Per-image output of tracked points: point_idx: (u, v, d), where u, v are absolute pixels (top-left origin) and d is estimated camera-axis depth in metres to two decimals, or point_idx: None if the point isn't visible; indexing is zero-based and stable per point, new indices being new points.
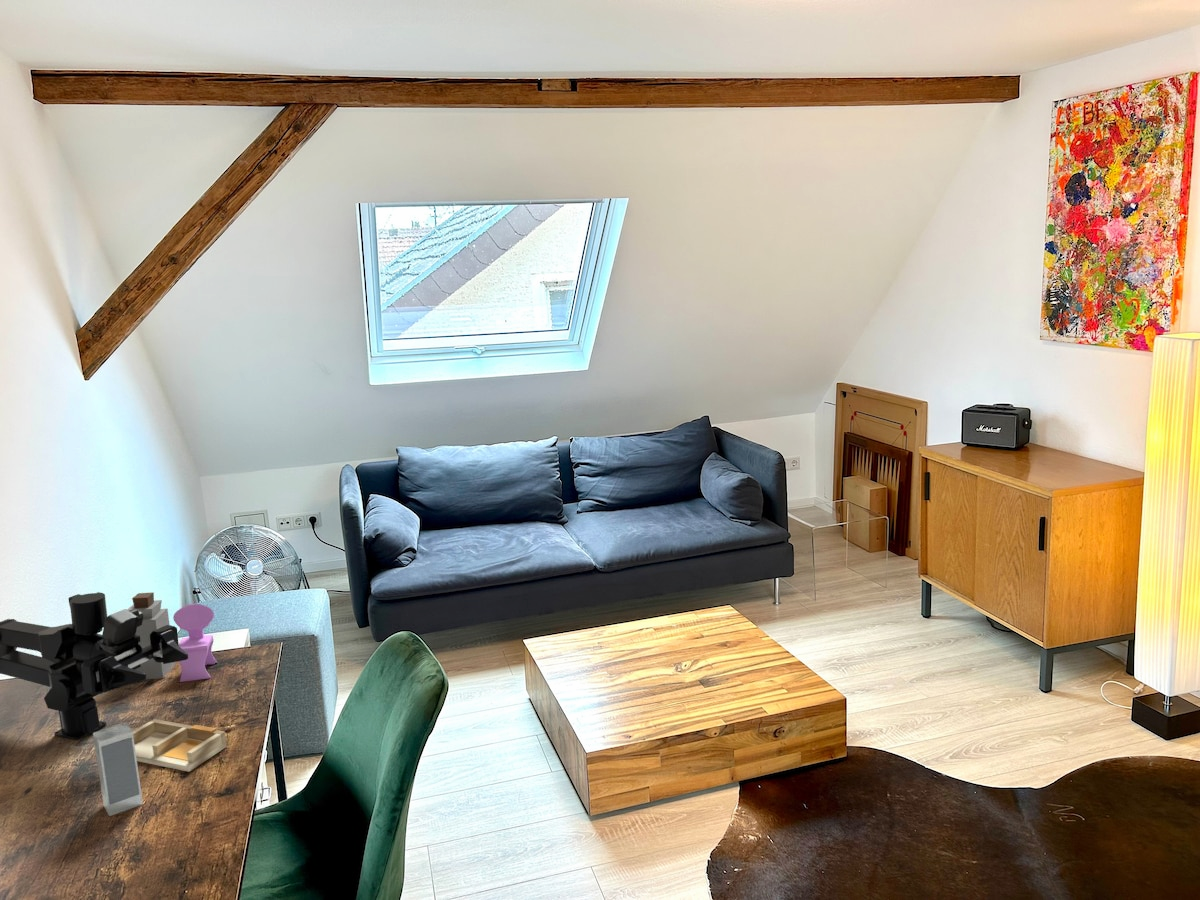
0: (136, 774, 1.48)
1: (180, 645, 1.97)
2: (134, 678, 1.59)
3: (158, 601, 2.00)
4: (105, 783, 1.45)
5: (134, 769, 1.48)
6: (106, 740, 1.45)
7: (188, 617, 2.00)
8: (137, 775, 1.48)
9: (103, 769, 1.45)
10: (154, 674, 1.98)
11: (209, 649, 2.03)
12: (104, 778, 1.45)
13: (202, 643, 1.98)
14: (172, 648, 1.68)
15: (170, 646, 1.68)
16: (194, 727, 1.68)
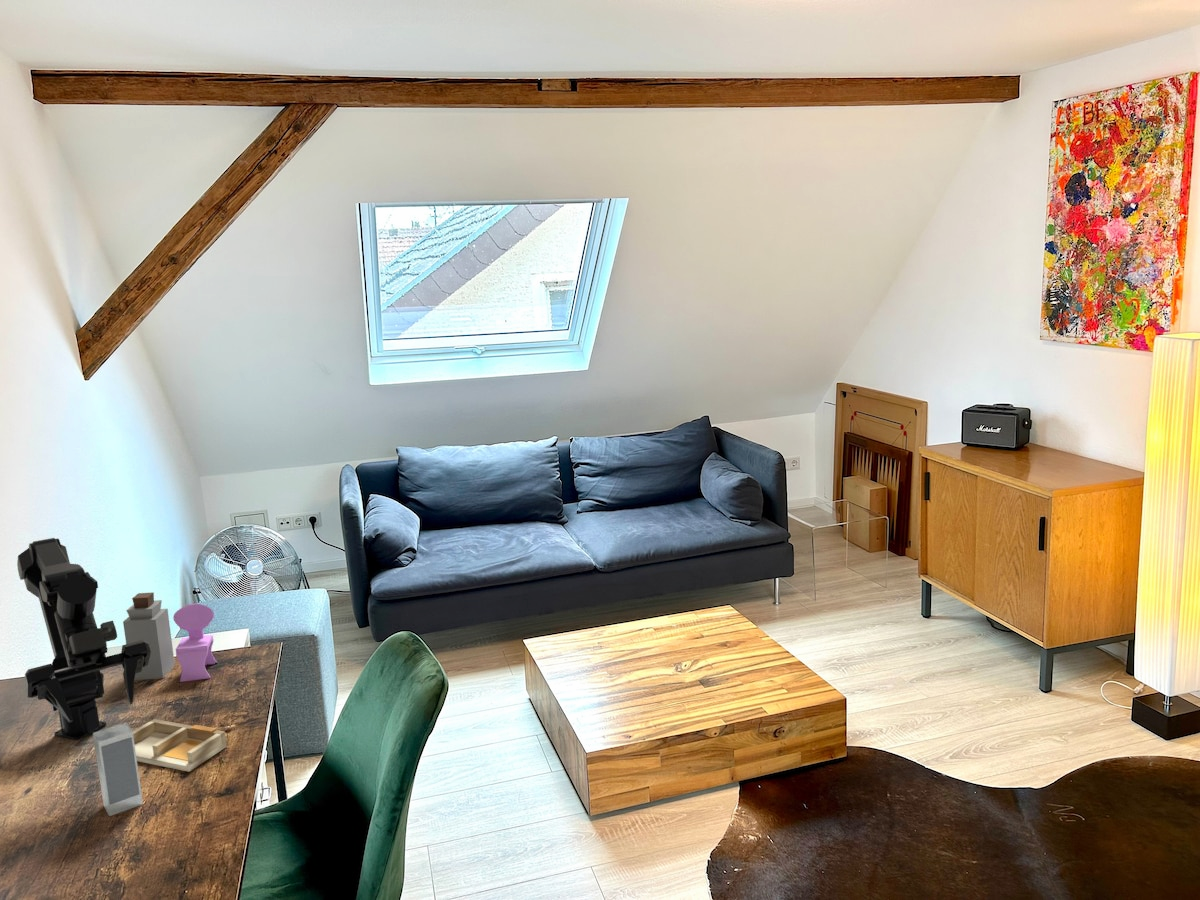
0: (136, 774, 1.48)
1: (180, 645, 1.97)
2: (63, 713, 1.50)
3: (158, 601, 2.00)
4: (105, 783, 1.45)
5: (134, 769, 1.48)
6: (106, 740, 1.45)
7: (188, 617, 2.00)
8: (137, 775, 1.48)
9: (103, 769, 1.45)
10: (154, 674, 1.98)
11: (209, 649, 2.03)
12: (104, 778, 1.45)
13: (202, 643, 1.98)
14: (127, 682, 1.57)
15: (126, 678, 1.57)
16: (194, 727, 1.68)
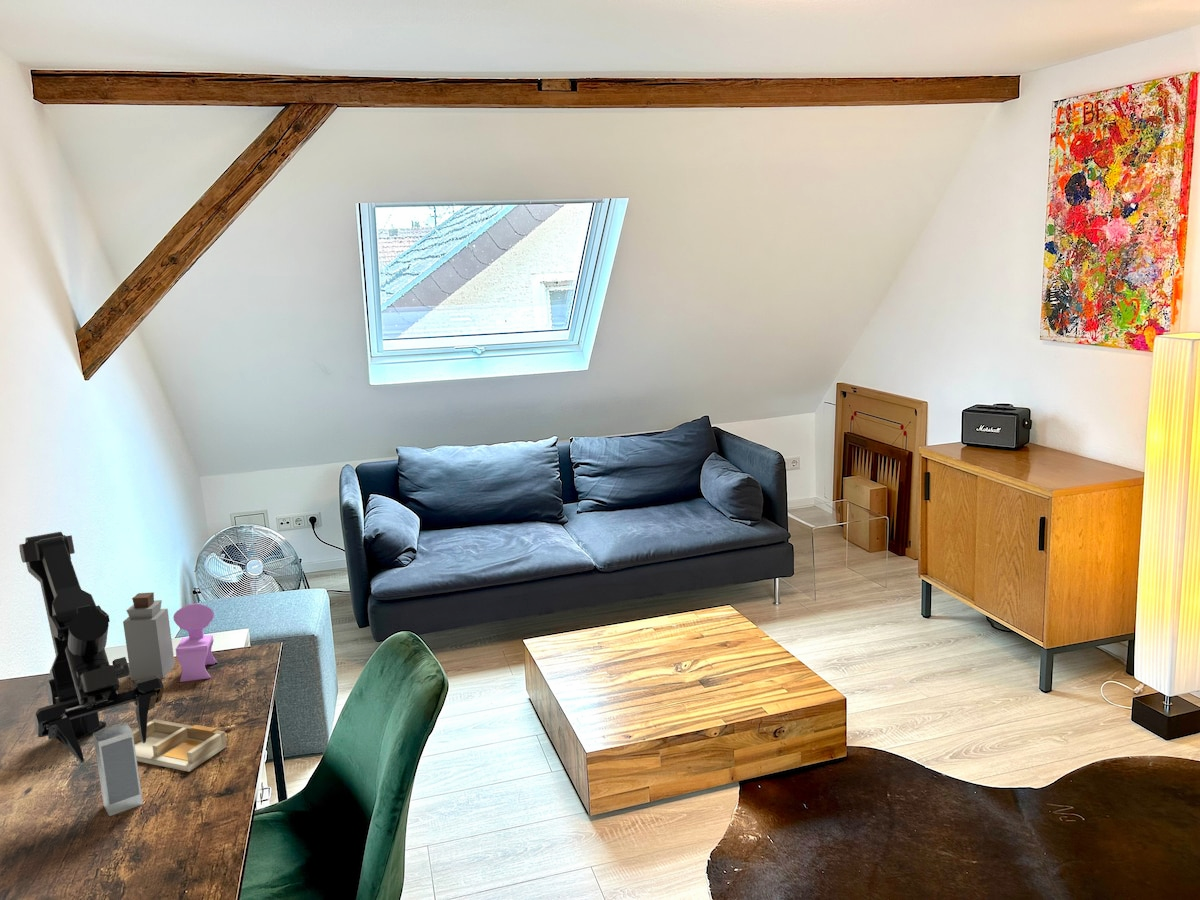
0: (136, 774, 1.48)
1: (180, 645, 1.97)
2: (74, 754, 1.46)
3: (158, 601, 2.00)
4: (105, 783, 1.45)
5: (134, 769, 1.48)
6: (106, 740, 1.45)
7: (188, 617, 2.00)
8: (137, 775, 1.48)
9: (103, 769, 1.45)
10: (154, 674, 1.98)
11: (209, 649, 2.03)
12: (104, 778, 1.45)
13: (202, 643, 1.98)
14: (139, 720, 1.53)
15: (139, 716, 1.53)
16: (194, 727, 1.68)
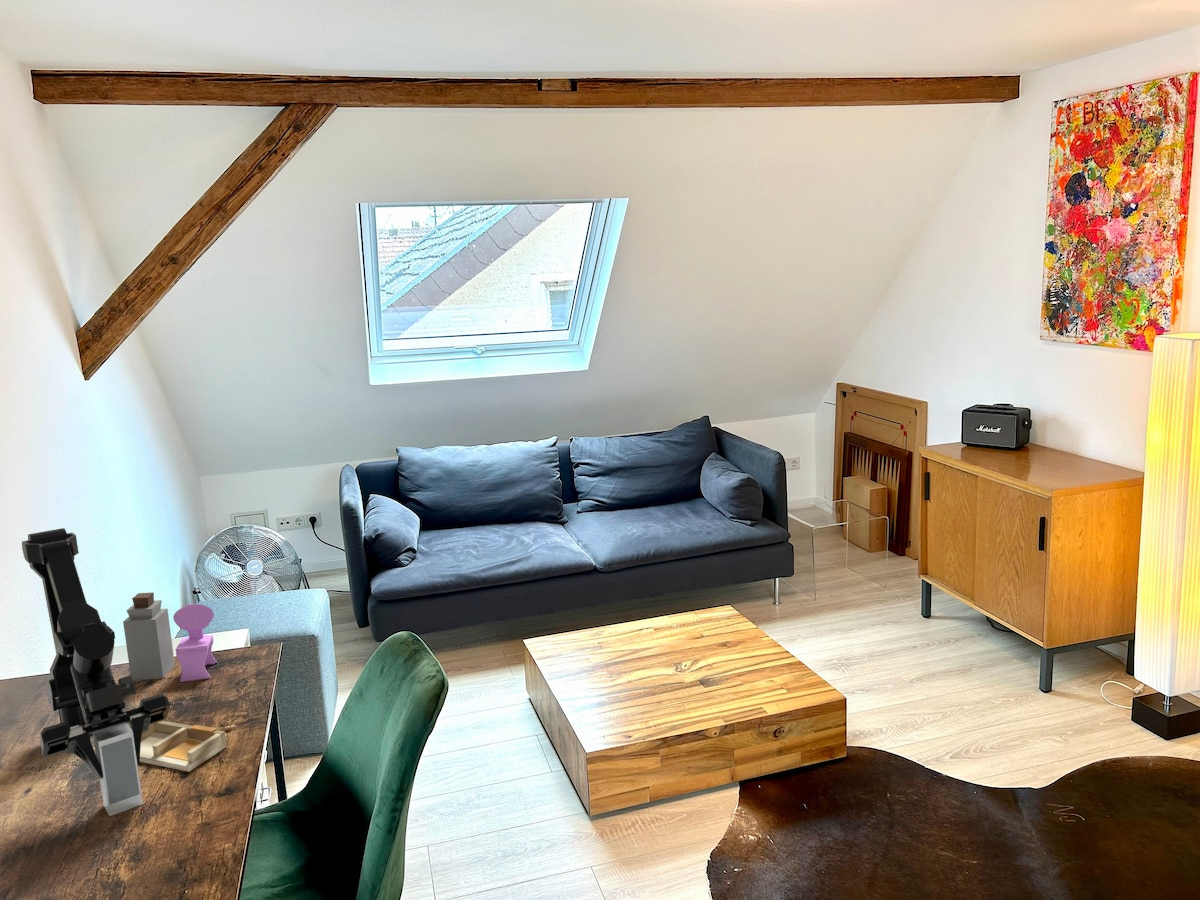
0: (136, 774, 1.48)
1: (180, 645, 1.97)
2: (93, 769, 1.46)
3: (158, 601, 2.00)
4: (105, 783, 1.45)
5: (134, 769, 1.48)
6: (106, 740, 1.45)
7: (188, 617, 2.00)
8: (137, 775, 1.48)
9: (103, 769, 1.45)
10: (154, 674, 1.98)
11: (209, 649, 2.03)
12: (104, 778, 1.45)
13: (202, 643, 1.98)
14: None
15: None
16: (194, 727, 1.68)
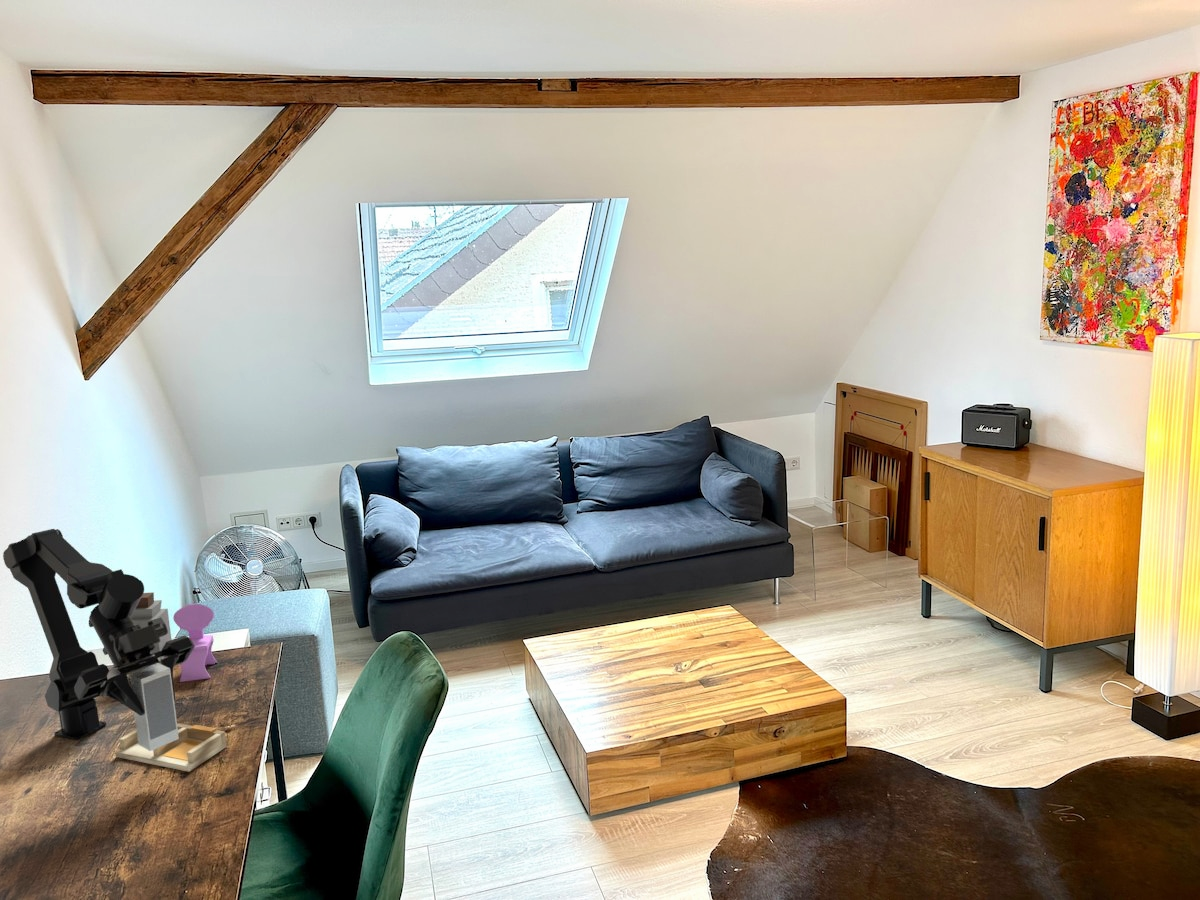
0: (173, 710, 1.55)
1: None
2: (133, 707, 1.52)
3: (158, 601, 2.00)
4: (147, 719, 1.52)
5: (171, 705, 1.55)
6: (148, 677, 1.51)
7: (188, 617, 2.00)
8: (174, 711, 1.56)
9: (145, 705, 1.51)
10: None
11: (209, 649, 2.03)
12: (146, 714, 1.52)
13: (202, 643, 1.98)
14: None
15: None
16: (194, 727, 1.68)
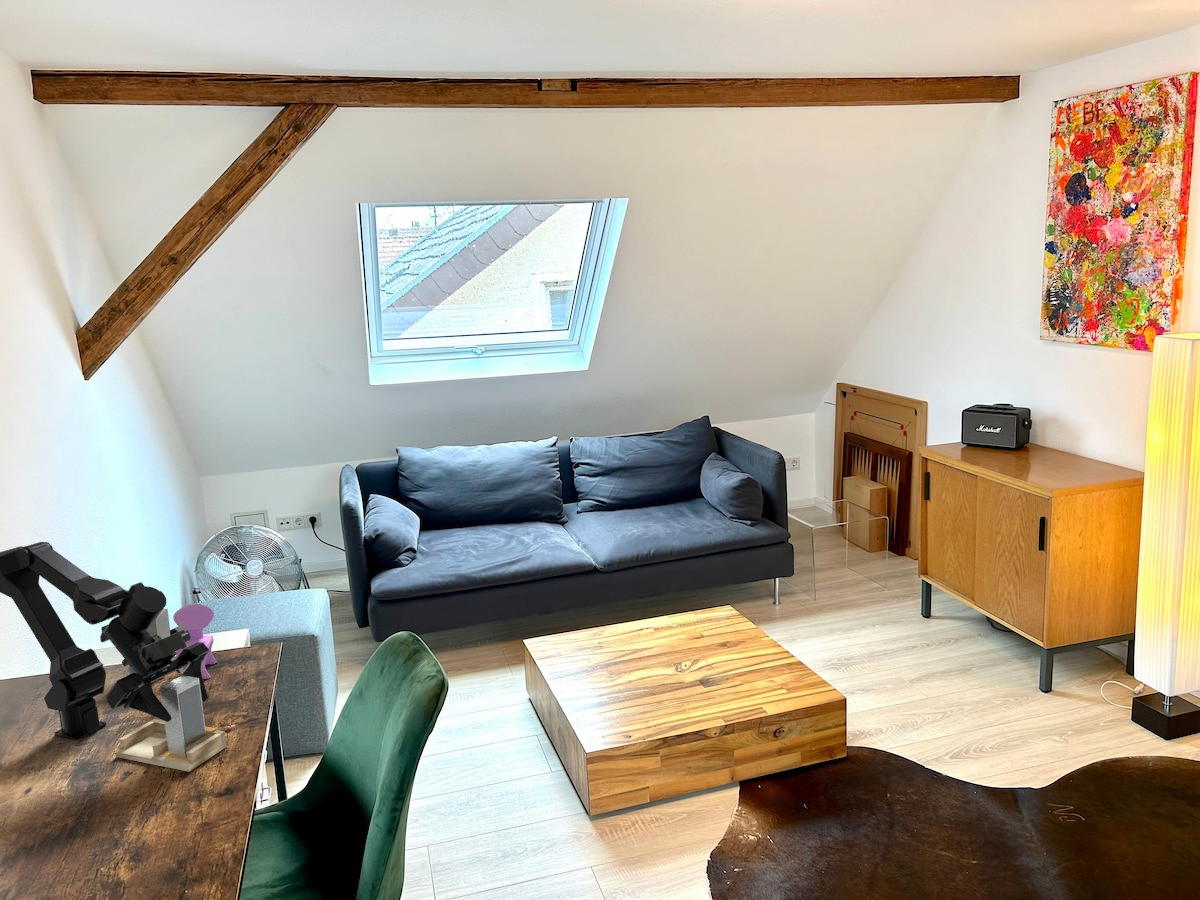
0: (202, 717, 1.65)
1: None
2: (159, 715, 1.58)
3: None
4: (182, 728, 1.61)
5: (201, 713, 1.64)
6: (182, 688, 1.60)
7: (188, 617, 2.00)
8: (203, 718, 1.65)
9: (180, 715, 1.60)
10: None
11: (209, 649, 2.03)
12: (181, 723, 1.60)
13: None
14: None
15: None
16: None
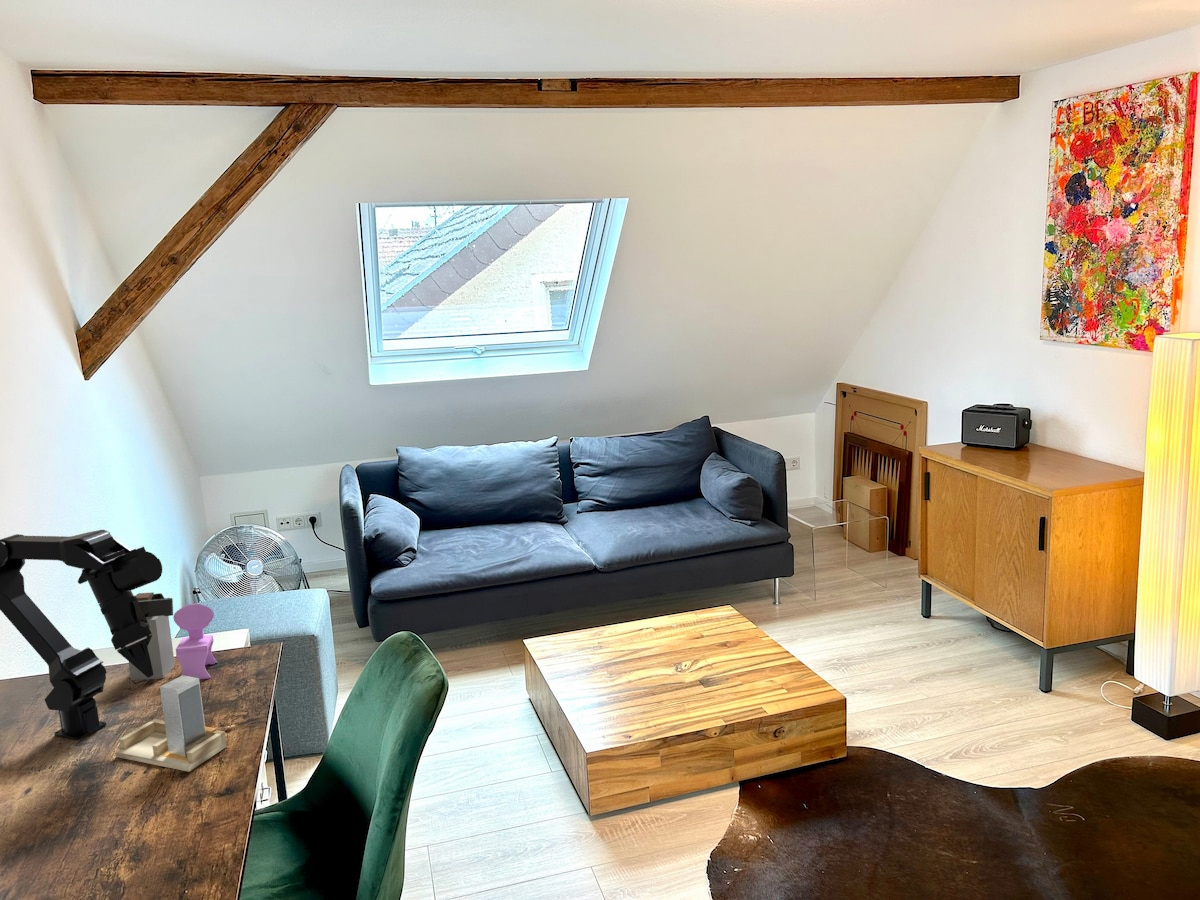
0: (202, 717, 1.65)
1: (180, 645, 1.97)
2: (145, 668, 1.64)
3: None
4: (182, 728, 1.61)
5: (201, 713, 1.64)
6: (182, 688, 1.60)
7: (188, 617, 2.00)
8: (203, 718, 1.65)
9: (180, 715, 1.60)
10: (154, 674, 1.98)
11: (209, 649, 2.03)
12: (181, 723, 1.60)
13: (202, 643, 1.98)
14: None
15: None
16: None
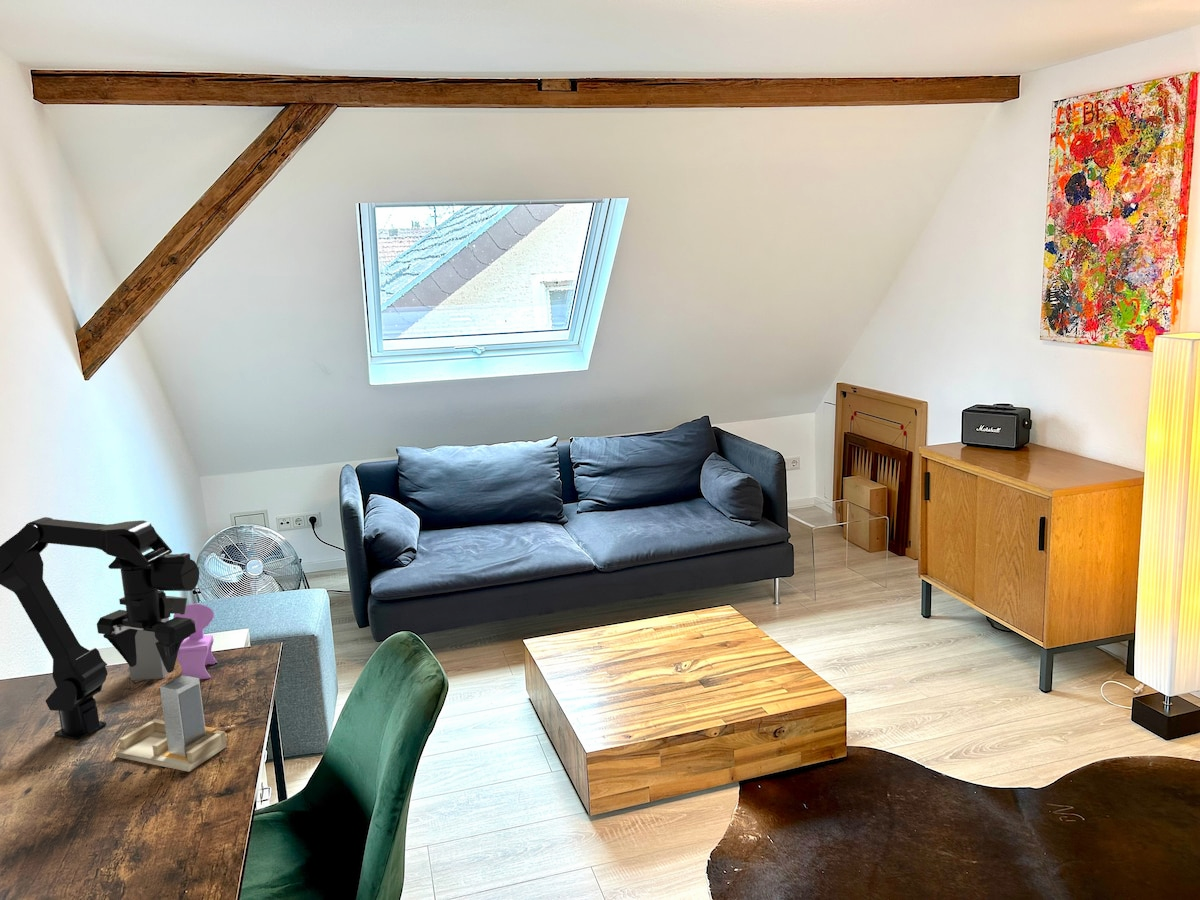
0: (202, 717, 1.65)
1: (180, 645, 1.97)
2: (171, 663, 1.69)
3: None
4: (182, 728, 1.61)
5: (201, 713, 1.64)
6: (182, 688, 1.60)
7: (188, 617, 2.00)
8: (203, 718, 1.65)
9: (180, 715, 1.60)
10: (154, 674, 1.98)
11: (209, 649, 2.03)
12: (181, 723, 1.60)
13: (202, 643, 1.98)
14: (134, 646, 1.73)
15: (134, 642, 1.73)
16: None
